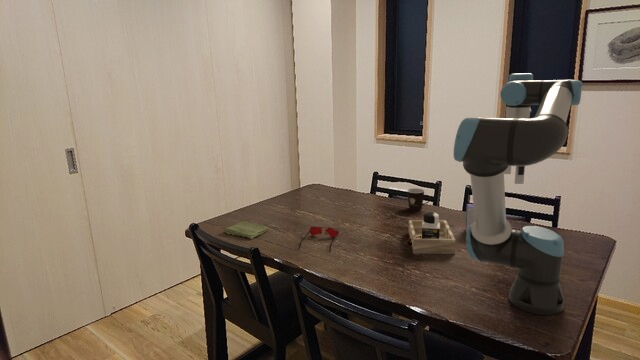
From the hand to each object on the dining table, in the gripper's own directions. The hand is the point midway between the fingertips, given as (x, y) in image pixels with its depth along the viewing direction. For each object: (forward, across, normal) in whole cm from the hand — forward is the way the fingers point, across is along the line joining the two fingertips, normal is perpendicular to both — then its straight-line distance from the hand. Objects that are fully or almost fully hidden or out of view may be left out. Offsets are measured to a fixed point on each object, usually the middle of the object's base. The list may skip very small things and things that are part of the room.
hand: (512, 178), depth 152 cm
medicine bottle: (+31, +15, +26) cm, 43 cm away
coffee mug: (+32, +57, +27) cm, 71 cm away
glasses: (+32, +13, +73) cm, 81 cm away
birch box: (+32, +15, +26) cm, 44 cm away
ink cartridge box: (+32, +28, +4) cm, 43 cm away
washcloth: (+32, +25, +108) cm, 116 cm away
